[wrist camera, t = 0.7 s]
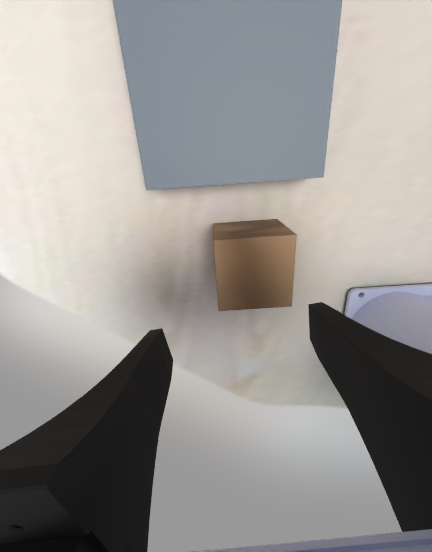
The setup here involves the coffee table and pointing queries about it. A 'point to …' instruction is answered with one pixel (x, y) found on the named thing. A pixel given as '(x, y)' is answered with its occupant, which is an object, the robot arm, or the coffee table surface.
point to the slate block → (229, 88)
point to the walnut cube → (254, 264)
